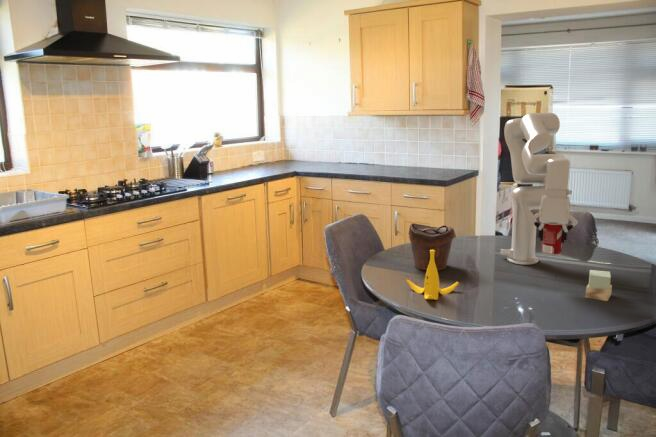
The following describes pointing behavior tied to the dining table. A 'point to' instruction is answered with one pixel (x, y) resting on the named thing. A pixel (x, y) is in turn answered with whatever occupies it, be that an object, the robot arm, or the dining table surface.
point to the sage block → (599, 279)
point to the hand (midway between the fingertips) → (552, 240)
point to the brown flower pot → (430, 244)
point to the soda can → (552, 239)
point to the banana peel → (431, 282)
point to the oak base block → (598, 293)
